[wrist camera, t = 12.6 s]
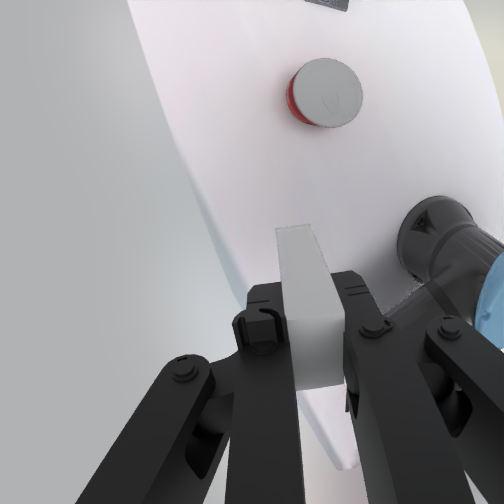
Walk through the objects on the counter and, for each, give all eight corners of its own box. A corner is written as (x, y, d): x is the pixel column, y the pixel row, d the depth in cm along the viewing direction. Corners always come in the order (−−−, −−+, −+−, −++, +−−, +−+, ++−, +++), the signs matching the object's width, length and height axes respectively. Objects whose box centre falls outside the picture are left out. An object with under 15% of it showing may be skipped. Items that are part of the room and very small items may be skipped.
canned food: (307, 135, 42) (322, 141, 32) (273, 89, 40) (277, 81, 30) (350, 106, 40) (377, 105, 30) (317, 61, 38) (335, 45, 27)
